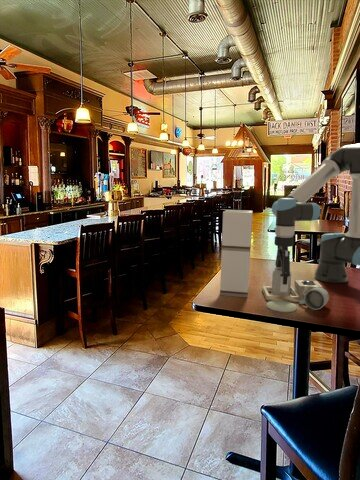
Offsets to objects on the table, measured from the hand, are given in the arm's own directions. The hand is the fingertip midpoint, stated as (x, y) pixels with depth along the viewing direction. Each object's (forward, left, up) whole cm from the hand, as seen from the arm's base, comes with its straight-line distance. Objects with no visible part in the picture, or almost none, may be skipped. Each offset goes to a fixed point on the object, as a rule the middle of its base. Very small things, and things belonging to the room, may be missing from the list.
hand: (281, 287), depth 153 cm
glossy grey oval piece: (-11, 0, -2) cm, 11 cm away
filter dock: (-4, 0, -4) cm, 6 cm away
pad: (+2, +14, -4) cm, 15 cm away
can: (0, 0, -4) cm, 4 cm away
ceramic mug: (-10, +11, -4) cm, 16 cm away
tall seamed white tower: (+19, -2, -4) cm, 20 cm away
